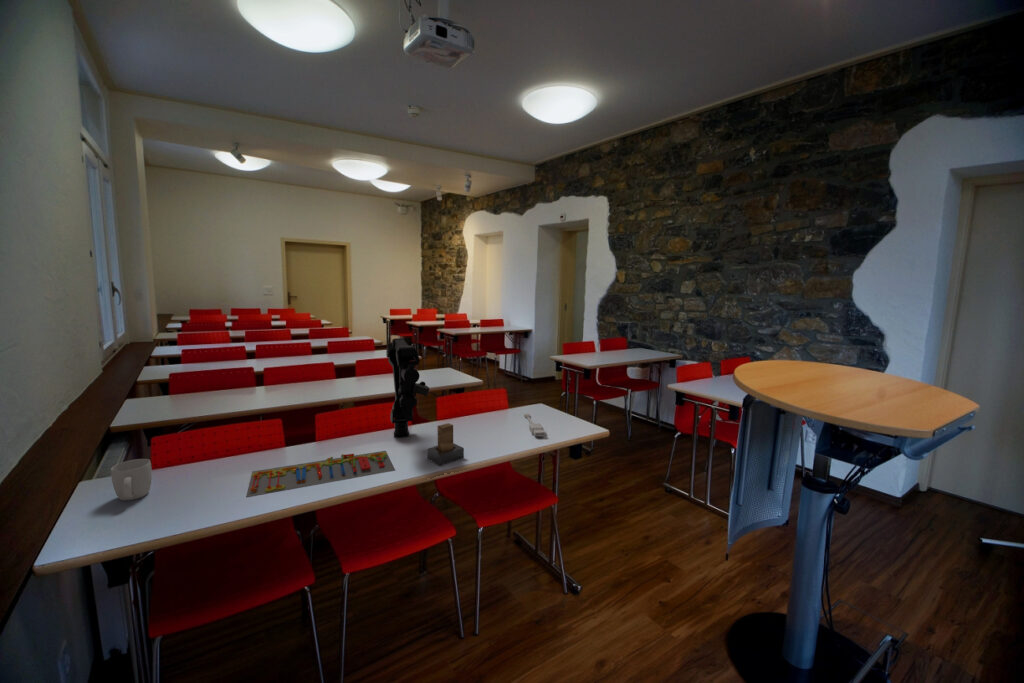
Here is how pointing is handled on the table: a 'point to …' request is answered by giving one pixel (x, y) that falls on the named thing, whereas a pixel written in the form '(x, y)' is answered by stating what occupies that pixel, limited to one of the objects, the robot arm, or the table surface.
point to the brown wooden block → (445, 437)
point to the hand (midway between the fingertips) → (407, 416)
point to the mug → (132, 479)
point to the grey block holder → (445, 455)
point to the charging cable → (535, 427)
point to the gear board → (318, 472)
